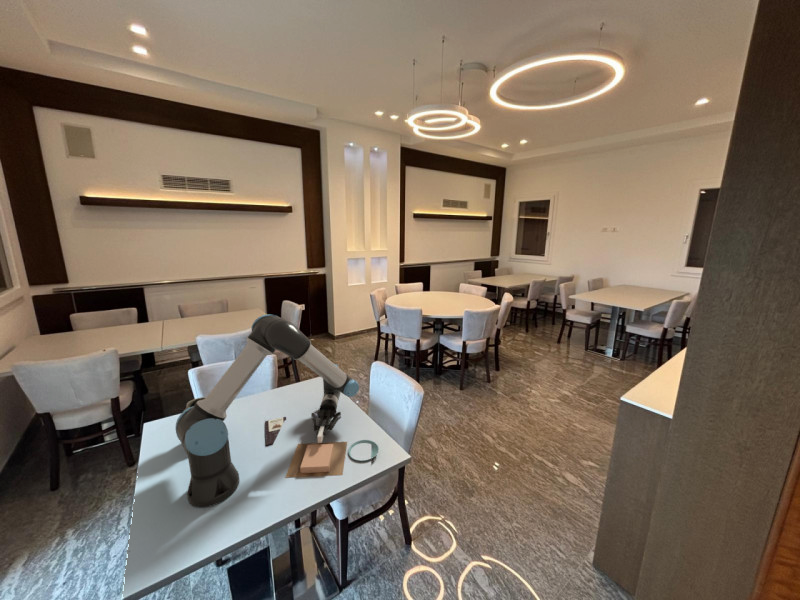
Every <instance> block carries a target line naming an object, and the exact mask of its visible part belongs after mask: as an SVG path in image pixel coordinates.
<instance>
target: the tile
mask: <svg viewBox="0 0 800 600" xmlns="http://www.w3.org/2000/svg"><path fill="white" fill-rule="evenodd" d="M333 450H334V447H333V444H318V445H307V448H306V452H305V455H304V458H303V461H302V464H301V467H300V471H301V473H316V472H329V469H330V464H331V460H332V455H333Z"/></svg>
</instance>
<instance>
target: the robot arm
mask: <svg viewBox="0 0 800 600" xmlns="http://www.w3.org/2000/svg"><path fill="white" fill-rule="evenodd" d="M246 340H247V341H246V343H247V344H246V346H244V348H243V349H242V351H241V352H240V353H239V354H238V355H237V357H236V358H235V360H234V361H233V362H232V363H231V365H230V366H229V367H228V369H227V370H226V371H225V372H224V373H223V375H221V378H219V380H218V381H217V382H216V384H215V385H214V386H213V388H212V389H211V391H210V392H209V393H208V394H207V395H206V396H205V397H206V398H205V399H204V400H200V401H197V403H196V404H195V405H194V406H193V407H191V408H188V409H186V408H185V409H186V410H185V409H184V410H185V411H184V410H183V411H184V412H183V411H182V412H181V414H180V415H179V416H178V418H177V420H176V421H175V422H176V423H175V433H176V437H177V439H178V440H179V442H180V443H181V446H182V447H183V449H184V451H185V453H186V454H185V455H187V459H188V465H189V471H190V479H189V483H188V488H187V500H188V503H189V504H190V506H192V507H194V508H208V507H212V506H215V505H218V504H219V503H222V502H223V501H225V500H227V499H228V498H229V497H230V496H232V495H233V494H234V492H235V491H237V489H238V487H239V485H240V482H241V481H240V474H239V471H238V470H237V469H236V467H235V465H234V464H233V462H232V458H231V457H232V456H231V450H230V442H229V430H228V428H227V425H226V423H225V422H224V421H225V419H226V418H227V410H228V408H229V407H230V406H231V404H233V401H235V399H236V398H237V397H238V395H239V394H240V392H241V391H242V389H243V388H244V387H245V385H247V383H248V382H249V380H250V379H251V377H252V376H253V375H254V374H255V372H256V371H257V370H258V368H259V367H260V365H261V364H262V363H263V361H264V360H265V359H266V357H267V356H270V355H271V356H272V355H273V354H275V352H276V351H278V352H280V353H282V354H284V355H287V356H288V357H289V358H291V359H292V360H296V361H297V360H298V361H299V362H301V364H303V365H305V366H306V367H307V368H309V369H310V370H311V371H312V372H314V373H315V374H316V375H318V376H319V377H320V378H321V379H322V381H323V382H322V383H323V396H322V399H321V403H320V405H319V408H318V411H317V412H316V413H314V412H312V413H310V414H311V420H312V423H313V431H314V432H316V437H317V443H323V440H324V437H325V436H327V434H328V431H333V429H334V428H335V426H336V424H337V423H338V421H339V420H340V419H341V418H342V413H341V411H338V412H337V409H338V404H339V400H340V396H341V394H343V395H344V396H346V397H349V398H353V397H354V396H356V395H358V393H359V390H360V385H359V382H358V381H357V380H355V379H353V378H351V377H350V376H349V375H348V374H346V373H345V372H344V371H343V370H342V369H341V368H339V366H338V364H337V363H334V362H332V361H331V360H330V359H329V358H327V356H326V355H324V354H323V353H322V352H321V351H319V350H318V349H317V348H316V347H315V346H313V345H312V341H311V339H309V338H308V337H307V336H306V335H305V334H304V333H303V332H302V331H301V330H300V329H299V328H298V327H297V326H296V325H295V324H294V323H292V322H290V321H289V320H286V319H284V318H282V317H280V316H278V315H275V314H270V313H269V314H268V313H267V314H263V315H261V316H258V317H257V318H256V319H255V320H254V321H253V322H252V324H251V332H250V333H249V335H248V336H247V338H246ZM317 418H319V421H318V424H317Z"/></svg>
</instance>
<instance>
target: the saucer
mask: <svg viewBox="0 0 800 600" xmlns="http://www.w3.org/2000/svg"><path fill="white" fill-rule="evenodd" d="M360 444H369V445H371V453H370V458H368V459H365V460H364V459H363V460H359V459H356V458H354V457H353V456H352V453H351V451H352V449H353V448H354V447H355V446H358V445H360ZM347 451H348V455H349V457H350V459H353V460H354V461H357V462H367V461H370V460H371V459H373V458H375V457H376V455H378V453H379V451H380V450H379V445H378V444H377V443H376V442H374V441H372V440H369V439H362V440H358V441H356V442H354V443H352V444H351V445H350V446H349V448H348V450H347Z"/></svg>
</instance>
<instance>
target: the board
mask: <svg viewBox="0 0 800 600" xmlns="http://www.w3.org/2000/svg"><path fill="white" fill-rule="evenodd" d="M318 444H333V447H334V450H333V455H332V460H331V464H330V469H329V472H316V473H301V471H300V467H301V464H302V461H303V458H304V455H305V452H306V448H307V445H318ZM296 445H297V446H296V448H295V450H294V453H293V456H292V458H291V461H290V463H289V466H288V469H287V472H286V475H285V479H289V478H291V479H292V478H309V477H329V476H330V477H331V476H333V477H334V476H343V474H344V466H345V461H346V453H347V446H348V441H334V442H333V441H331V442H322V443H318V442H309V443H307V442H306V443H297V444H296Z"/></svg>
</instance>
